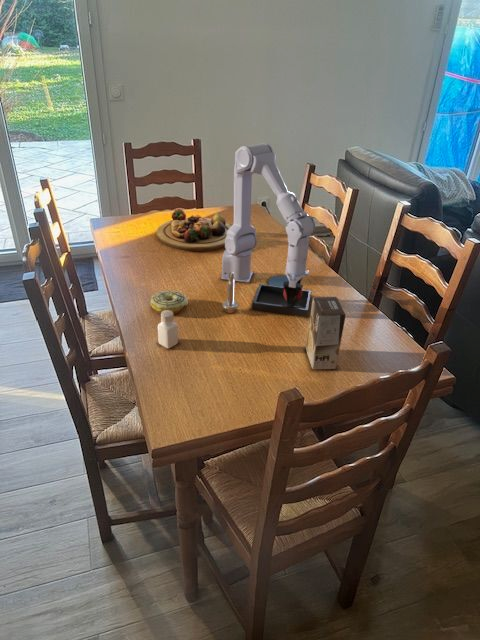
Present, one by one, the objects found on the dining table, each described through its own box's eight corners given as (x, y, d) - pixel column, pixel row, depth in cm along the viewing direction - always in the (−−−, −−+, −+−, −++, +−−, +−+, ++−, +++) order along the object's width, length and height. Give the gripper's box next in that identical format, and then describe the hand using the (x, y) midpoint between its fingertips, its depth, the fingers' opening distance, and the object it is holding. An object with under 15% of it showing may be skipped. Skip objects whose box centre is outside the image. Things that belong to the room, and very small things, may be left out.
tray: (252, 309, 141) (252, 302, 140) (259, 290, 152) (259, 283, 150) (306, 317, 139) (307, 310, 137) (310, 297, 149) (311, 290, 148)
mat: (266, 288, 153) (266, 287, 153) (270, 275, 161) (270, 274, 161) (295, 292, 151) (295, 291, 151) (298, 279, 159) (298, 278, 159)
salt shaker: (168, 337, 127) (167, 307, 122) (179, 343, 125) (178, 313, 119) (157, 344, 124) (155, 313, 119) (168, 350, 122) (166, 319, 117)
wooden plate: (147, 227, 194) (145, 207, 190) (217, 218, 206) (218, 200, 202) (170, 257, 170) (170, 236, 165) (249, 245, 182) (250, 225, 177)
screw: (240, 314, 139) (224, 315, 137) (235, 306, 142) (220, 307, 141) (241, 274, 132) (225, 276, 130) (237, 267, 135) (221, 268, 134)
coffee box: (336, 369, 118) (347, 315, 109) (311, 370, 117) (320, 315, 109) (327, 348, 126) (337, 296, 117) (304, 348, 125) (311, 296, 116)
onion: (300, 309, 142) (303, 286, 137) (281, 306, 142) (283, 283, 138) (301, 300, 146) (304, 277, 142) (283, 297, 147) (286, 274, 143)
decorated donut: (194, 307, 141) (194, 296, 139) (166, 320, 134) (166, 309, 132) (171, 295, 146) (171, 284, 144) (144, 307, 140) (143, 296, 138)
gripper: (308, 269, 130) (303, 311, 137) (312, 249, 142) (307, 288, 149) (283, 266, 131) (279, 307, 138) (289, 246, 143) (285, 285, 150)
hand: (292, 297), depth 143 cm, fingers open, 7 cm apart
